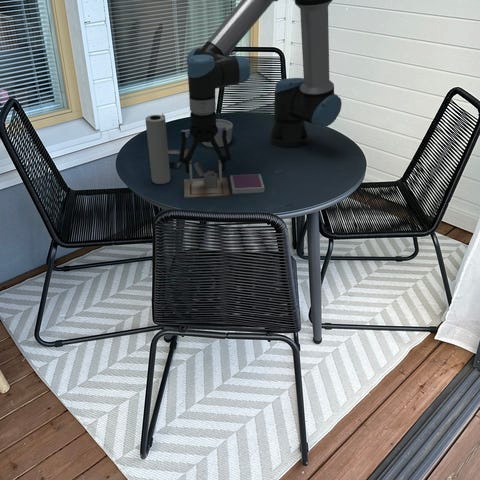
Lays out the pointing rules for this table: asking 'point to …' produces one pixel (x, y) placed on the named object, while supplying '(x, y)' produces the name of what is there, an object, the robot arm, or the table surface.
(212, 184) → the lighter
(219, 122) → the ramekin
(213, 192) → the marked board
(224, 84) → the robot arm
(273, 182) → the table surface
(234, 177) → the ink pad
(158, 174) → the paper towel roll
